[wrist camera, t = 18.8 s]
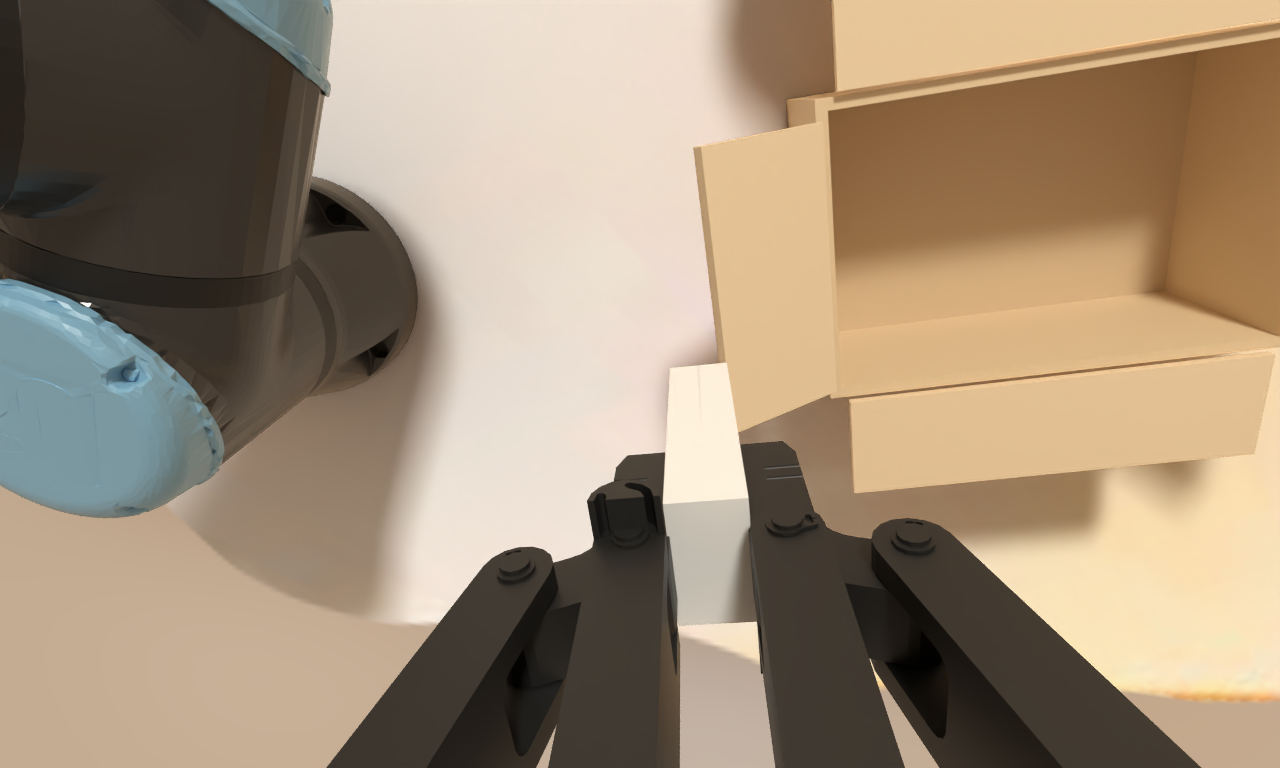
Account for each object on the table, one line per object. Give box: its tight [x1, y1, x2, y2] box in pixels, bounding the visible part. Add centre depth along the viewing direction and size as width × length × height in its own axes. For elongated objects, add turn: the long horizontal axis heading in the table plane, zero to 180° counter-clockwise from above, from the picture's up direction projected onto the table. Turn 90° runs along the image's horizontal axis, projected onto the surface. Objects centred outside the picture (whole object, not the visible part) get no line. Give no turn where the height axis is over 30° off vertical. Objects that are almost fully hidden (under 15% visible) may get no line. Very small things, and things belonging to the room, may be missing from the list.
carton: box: [786, 0, 1280, 493], centre depth 39 cm, size 24×28×10 cm
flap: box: [693, 122, 837, 433], centre depth 34 cm, size 1×14×7 cm
